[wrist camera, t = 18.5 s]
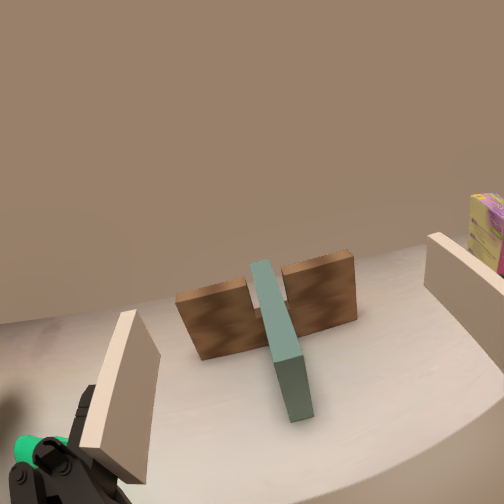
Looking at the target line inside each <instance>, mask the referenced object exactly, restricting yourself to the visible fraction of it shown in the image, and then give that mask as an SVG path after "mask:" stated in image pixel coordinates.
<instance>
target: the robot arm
mask: <svg viewBox="0 0 504 504" xmlns="http://www.w3.org/2000/svg"><path fill="white" fill-rule="evenodd" d="M424 286H425V287H426V288H427V289H428V290H429V291H430V292H431V293H432V294H433V295H434V296H435V297H436V298H437V300H438V301H439V302H440V303H441V304H442V305H443V306H444V307H445V308H446V309H447V310H448V311H449V312H450V313H451V314H452V315H453V316H454V317H455V318H456V319H457V321H458V322H459V323H460V324H461V325H462V326H463V327H464V328H465V329H466V330H467V331H468V333H469V334H470V335H471V336H472V337H473V338H474V339H475V340H476V342H477V343H478V344H479V345H480V346H481V347H482V348H483V350H484V351H485V352H486V353H487V354H488V356H489V357H490V358H491V359H492V360H493V361H494V363H495V364H496V365H497V366H498V368H499V369H500V370H501V371H502V372H503V374H504V275H502V274H497V273H496V272H494V271H493V270H492V269H490V268H489V267H488V266H486V265H485V264H484V263H483V262H481V261H480V260H479V259H477V258H476V257H475V256H473V255H472V254H470V253H469V252H468V251H466V250H465V249H464V248H462V247H461V246H459V245H458V244H457V243H455V242H454V241H452V240H451V239H449V238H448V237H446V236H445V235H443V234H442V233H440V232H438V233H434V234H431V235H428V236H427V253H426V266H425V277H424ZM160 357H161V355H160V353H159V351H158V349H157V347H156V346H155V344H154V342H153V340H152V338H151V336H150V334H149V333H148V331H147V329H146V327H145V325H144V323H143V321H142V319H141V317H140V315H139V313H138V311H137V309H136V310H131V311H126V312H122V313H121V314H120V317H119V320H118V322H117V325H116V328H115V331H114V333H113V336H112V339H111V342H110V344H109V347H108V350H107V353H106V356H105V359H104V362H103V365H102V368H101V371H100V374H99V377H98V380H97V384H96V385H89V386H88V387H87V389H86V390H85V391H84V393H83V394H82V396H81V399H80V402H79V405H78V409H77V411H76V415H75V416H76V418H74V421H73V425H72V428H71V432H70V435H69V439H68V443H67V446H65V445H64V444H63V443H62V442H61V441H60V440H58V439H57V438H54V437H46V438H44V439H42V440H41V441H40V442H39V443H37V445H36V446H35V448H34V450H33V454H32V461H33V463H34V464H35V465H36V466H37V467H39V468H34V467H33V466H31V465H30V464H29V463H27V462H24V461H22V462H18V463H16V464H15V465H14V466H13V467H12V468H11V471H10V473H9V488H10V498H11V504H132V503H131V502H130V500H129V499H128V498H127V496H126V495H125V494H124V492H123V491H122V490H121V489H120V488H119V487H118V486H117V479H118V478H119V479H120V480H122V481H123V482H125V483H126V484H146V474H147V462H148V451H149V441H150V431H151V423H152V414H153V406H154V398H155V391H156V384H157V377H158V370H159V363H160Z"/></svg>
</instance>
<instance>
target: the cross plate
mask: <svg viewBox="0 0 504 504" xmlns="http://www.w3.org/2000/svg"><path fill="white" fill-rule="evenodd" d="M250 267H251V271H252V275H253V279H254V284H255V288H256V292H257V296H258V300H259V305H260V309H261V313H262V317H263V321H264V325H265V330H266V334H267V338H268V342H269V346H270V350H271V354H272V359H273V363H274V366H275V370H276V373H277V377H278V380H279V384H280V387H281V391H282V394H283V398H284V401H285V405H286V408H287V412H288V415H289V419H290V422H295V421H299V420H303V419H306V418H310V417H313V416H314V414H313V408H312V402H311V396H310V390H309V384H308V379H307V373H306V367H305V362H304V356H303V353H302V350H301V347H300V344H299V342H298V339H297V336H296V333H295V330H294V328H293V325H292V322H291V319H290V317H289V314H288V311H287V308H286V305H285V303H284V300H283V297H282V294H281V292H280V289H279V286H278V284H277V281H276V278H275V276H274V273H273V270H272V267H271V264H270V262H269V259H265V260H261V261H258V262H254V263H250Z"/></svg>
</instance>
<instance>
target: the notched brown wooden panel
mask: <svg viewBox="0 0 504 504" xmlns="http://www.w3.org/2000/svg"><path fill="white" fill-rule="evenodd" d="M281 271H282V276H283V281H284V286H285V290H286V295H287V300H286V301H284V303H285V305H286V308H287V311H288V314H289V317H290V319H291V322H292V325H293V328H294V330H295V333H296V336H297V337H300V336H304V335H307V334H311V333H314V332H318V331H321V330H324V329H328V328H331V327H334V326H337V325H341V324H344V323H347V322H350V321H353V320H356V319H357V304H356V284H355V269H354V256H353V255H352V254H351V253H350V252H349V251H348V250H343V251H339V252H336V253H332V254H329V255H325V256H321V257H318V258H314V259H311V260H307V261H303V262H300V263H295V264H292V265H288V266H284V267H281ZM175 304H176V306H177V308H178V311H179V313H180V315H181V317H182V320H183V322H184V324H185V326H186V328H187V331H188V333H189V335H190V337H191V339H192V341H193V343H194V345H195V348H196V350H197V352H198V354H199V356H200V358H201V360H206V359H211V358H215V357H220V356H225V355H229V354H234V353H238V352H242V351H246V350H251V349H255V348H259V347H263V346H267V345H269V342H268V338H267V334H266V330H265V325H264V321H263V317H262V313H261V309H260V308H256V309H254V308H253V304H252V301H251V297H250V294H249V290H248V287H247V283H246V280H245V277H243V278H238V279H235V280H231V281H227V282H223V283H219V284H215V285H211V286H207V287H203V288H199V289H195V290H191V291H187V292H183V293H179V294H177V295H176V301H175Z"/></svg>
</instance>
